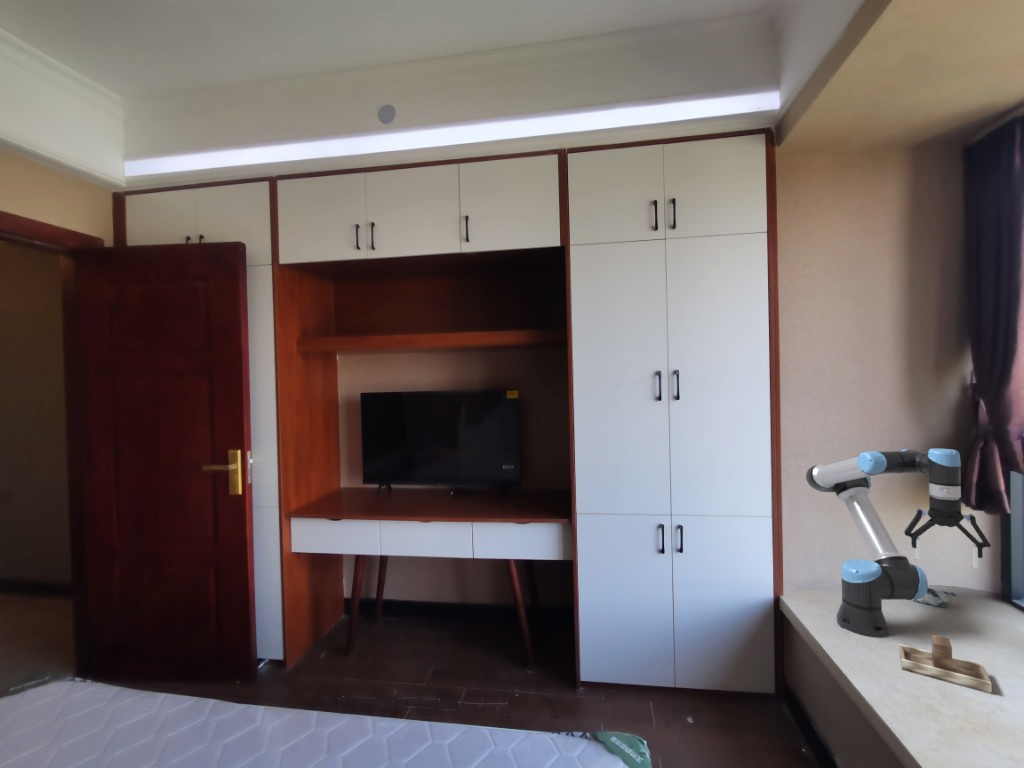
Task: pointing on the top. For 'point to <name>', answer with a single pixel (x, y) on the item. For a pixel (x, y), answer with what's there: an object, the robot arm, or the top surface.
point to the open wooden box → (960, 675)
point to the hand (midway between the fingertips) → (945, 562)
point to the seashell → (936, 598)
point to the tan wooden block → (941, 653)
